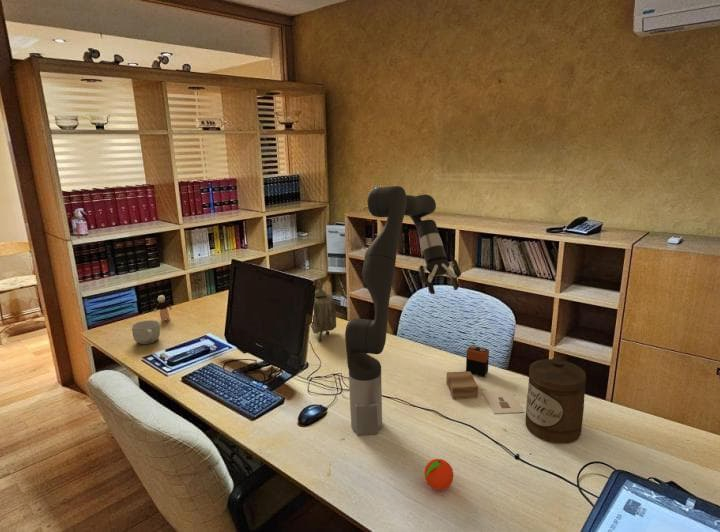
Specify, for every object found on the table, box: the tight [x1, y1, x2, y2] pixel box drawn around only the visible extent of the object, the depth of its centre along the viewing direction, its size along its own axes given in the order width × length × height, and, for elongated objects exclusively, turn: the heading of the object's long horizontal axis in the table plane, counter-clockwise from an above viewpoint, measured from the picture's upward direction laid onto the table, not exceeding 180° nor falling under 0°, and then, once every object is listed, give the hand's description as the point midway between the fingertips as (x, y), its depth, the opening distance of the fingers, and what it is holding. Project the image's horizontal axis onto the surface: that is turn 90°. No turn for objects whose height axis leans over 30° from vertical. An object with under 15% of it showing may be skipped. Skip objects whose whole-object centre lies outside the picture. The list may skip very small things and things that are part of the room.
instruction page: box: [482, 390, 524, 415], centre depth 148 cm, size 12×9×1 cm
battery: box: [465, 344, 490, 378], centre depth 165 cm, size 4×7×10 cm, turn 57°
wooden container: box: [525, 356, 587, 445], centre depth 132 cm, size 15×15×22 cm
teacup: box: [130, 319, 161, 345], centre depth 199 cm, size 14×11×8 cm
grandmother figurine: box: [153, 294, 173, 323], centre depth 221 cm, size 8×4×13 cm, turn 130°
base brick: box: [446, 370, 479, 400], centre depth 155 cm, size 10×8×4 cm
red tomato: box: [423, 458, 454, 491], centre depth 113 cm, size 8×7×7 cm
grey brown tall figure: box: [310, 278, 337, 342], centre depth 198 cm, size 14×9×25 cm, turn 17°
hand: (444, 291), depth 163 cm, fingers open, 8 cm apart
